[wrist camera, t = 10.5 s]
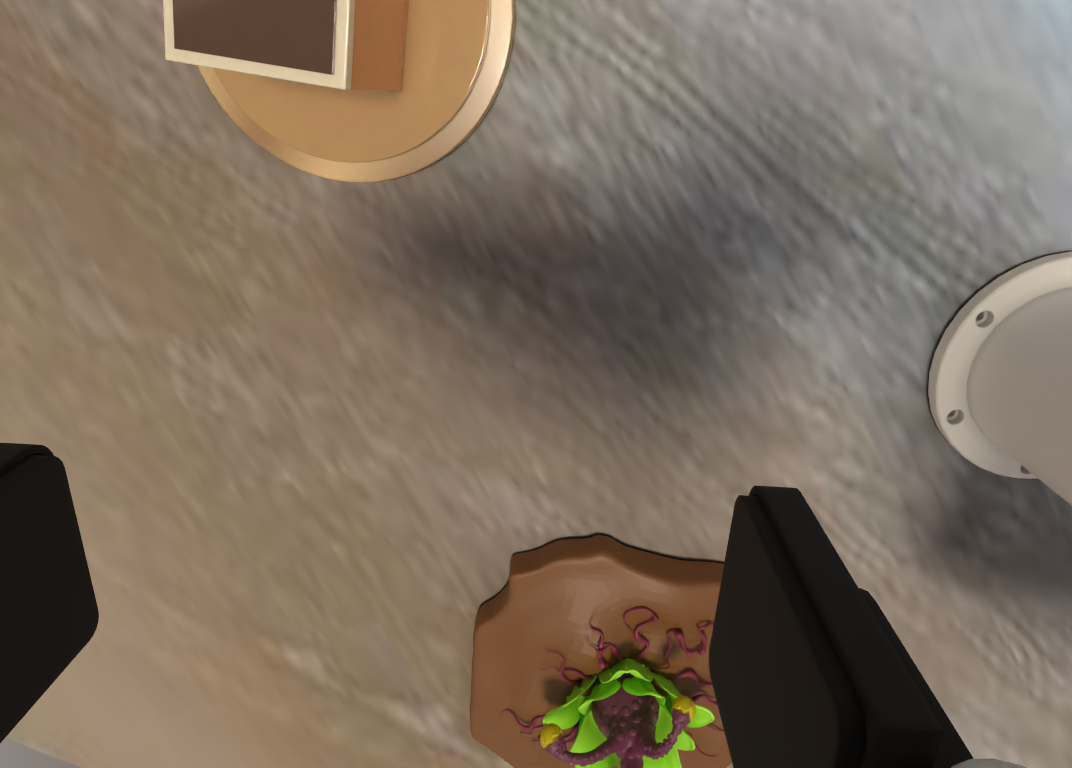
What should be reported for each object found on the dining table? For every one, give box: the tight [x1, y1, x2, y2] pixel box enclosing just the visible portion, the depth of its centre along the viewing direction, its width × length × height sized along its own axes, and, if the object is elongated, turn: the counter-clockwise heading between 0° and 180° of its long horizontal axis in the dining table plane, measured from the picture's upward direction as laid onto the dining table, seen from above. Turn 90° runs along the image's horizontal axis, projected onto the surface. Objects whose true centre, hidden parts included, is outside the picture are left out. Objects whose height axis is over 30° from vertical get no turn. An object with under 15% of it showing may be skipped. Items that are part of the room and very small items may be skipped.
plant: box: [470, 535, 732, 768], centre depth 42 cm, size 20×20×11 cm
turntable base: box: [198, 0, 515, 182], centre depth 32 cm, size 15×15×1 cm
